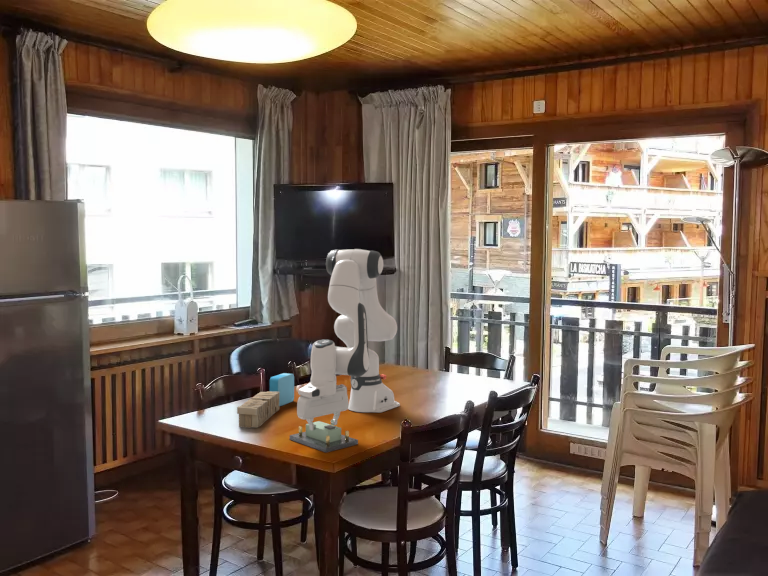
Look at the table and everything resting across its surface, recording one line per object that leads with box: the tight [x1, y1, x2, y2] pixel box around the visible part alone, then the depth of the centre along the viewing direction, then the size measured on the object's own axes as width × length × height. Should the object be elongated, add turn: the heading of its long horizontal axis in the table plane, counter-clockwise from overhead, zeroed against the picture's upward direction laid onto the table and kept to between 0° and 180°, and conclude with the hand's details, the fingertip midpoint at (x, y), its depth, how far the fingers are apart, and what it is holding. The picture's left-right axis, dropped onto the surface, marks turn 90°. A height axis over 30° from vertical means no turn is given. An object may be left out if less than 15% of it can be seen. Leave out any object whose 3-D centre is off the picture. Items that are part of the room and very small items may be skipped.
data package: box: [269, 372, 295, 407], centre depth 300 cm, size 12×4×12 cm, turn 155°
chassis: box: [289, 425, 359, 453], centre depth 245 cm, size 14×20×4 cm
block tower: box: [236, 390, 280, 428], centre depth 276 cm, size 8×8×29 cm
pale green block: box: [305, 420, 342, 442], centre depth 245 cm, size 6×12×5 cm, turn 44°
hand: (323, 427), depth 245 cm, fingers open, 8 cm apart
